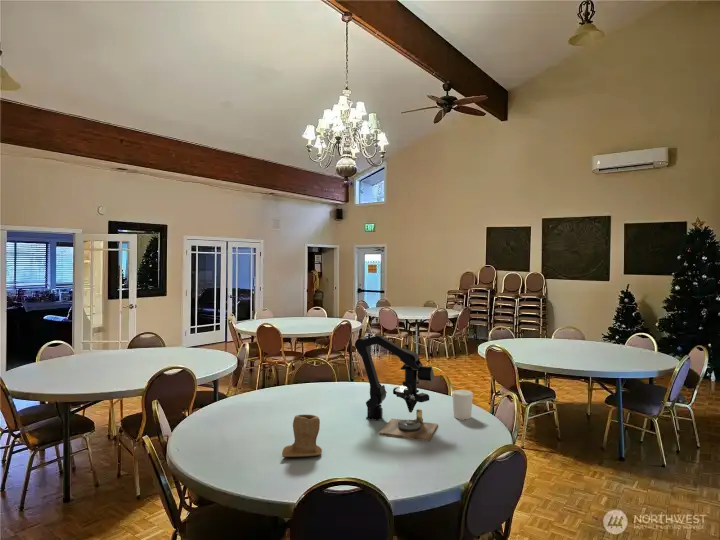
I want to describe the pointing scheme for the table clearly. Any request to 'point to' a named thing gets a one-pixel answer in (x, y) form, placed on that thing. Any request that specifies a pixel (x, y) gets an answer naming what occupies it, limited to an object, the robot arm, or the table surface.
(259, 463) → the table surface
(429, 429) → the base plate
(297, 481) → the table surface
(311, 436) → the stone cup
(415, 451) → the table surface
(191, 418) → the table surface
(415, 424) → the dial
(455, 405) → the candle holder
